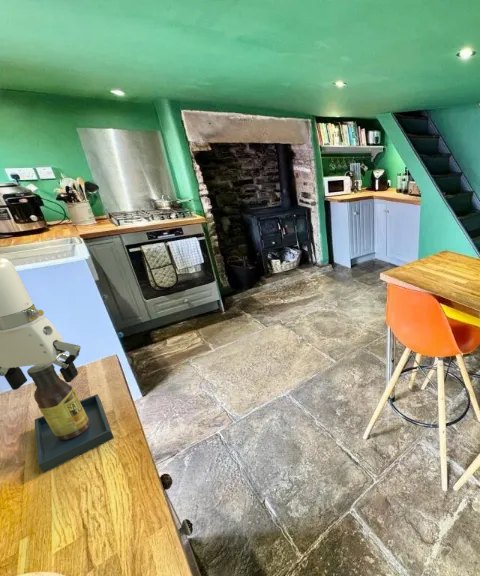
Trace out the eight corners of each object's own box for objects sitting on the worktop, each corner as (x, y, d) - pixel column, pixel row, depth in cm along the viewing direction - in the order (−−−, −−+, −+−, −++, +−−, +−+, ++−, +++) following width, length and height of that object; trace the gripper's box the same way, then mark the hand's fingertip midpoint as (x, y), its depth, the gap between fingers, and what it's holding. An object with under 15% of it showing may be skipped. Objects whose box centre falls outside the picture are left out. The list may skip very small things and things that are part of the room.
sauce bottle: (88, 434, 75) (54, 371, 67) (54, 446, 72) (13, 381, 64) (93, 416, 80) (61, 355, 72) (60, 427, 77) (24, 364, 69)
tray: (38, 426, 77) (34, 419, 76) (100, 400, 86) (97, 393, 85) (43, 472, 67) (38, 465, 66) (113, 437, 75) (110, 430, 74)
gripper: (73, 305, 68) (100, 366, 75) (-27, 313, 64) (12, 377, 71) (49, 321, 61) (82, 386, 68) (-64, 332, 57) (-17, 400, 64)
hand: (47, 381), depth 69 cm, fingers open, 9 cm apart
